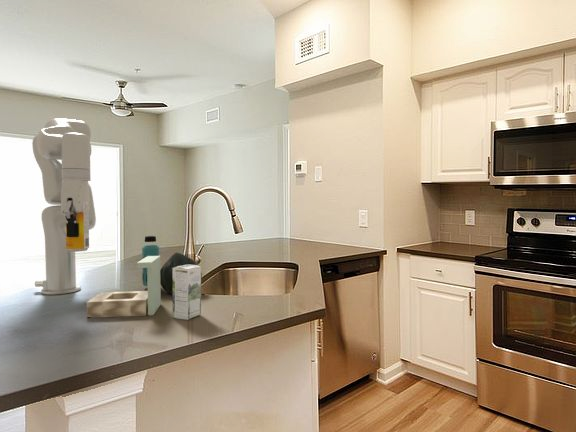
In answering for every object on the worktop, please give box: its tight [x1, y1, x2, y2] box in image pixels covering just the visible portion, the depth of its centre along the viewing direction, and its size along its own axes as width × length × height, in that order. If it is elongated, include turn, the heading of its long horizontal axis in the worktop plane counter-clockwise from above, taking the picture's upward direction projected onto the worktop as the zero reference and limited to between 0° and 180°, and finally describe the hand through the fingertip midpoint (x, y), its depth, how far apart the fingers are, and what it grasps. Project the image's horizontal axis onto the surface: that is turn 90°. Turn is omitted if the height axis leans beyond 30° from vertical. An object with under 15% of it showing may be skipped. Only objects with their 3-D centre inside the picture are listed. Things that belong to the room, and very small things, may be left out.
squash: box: [160, 252, 203, 295], centre depth 142 cm, size 14×15×15 cm
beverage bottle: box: [141, 235, 160, 287], centre depth 148 cm, size 6×7×20 cm
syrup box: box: [172, 265, 202, 321], centre depth 111 cm, size 6×6×14 cm
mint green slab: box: [136, 255, 162, 316], centre depth 118 cm, size 4×14×16 cm, turn 8°
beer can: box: [66, 201, 90, 253], centre depth 117 cm, size 6×6×15 cm
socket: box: [86, 290, 148, 318], centre depth 117 cm, size 16×12×4 cm
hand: (77, 235), depth 117 cm, fingers closed on beer can, 6 cm apart
